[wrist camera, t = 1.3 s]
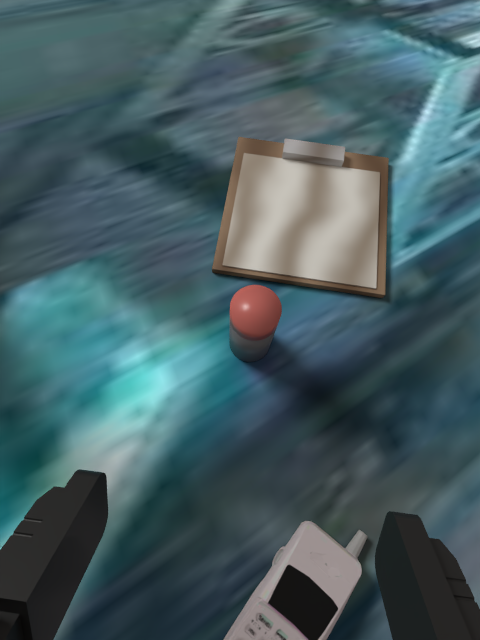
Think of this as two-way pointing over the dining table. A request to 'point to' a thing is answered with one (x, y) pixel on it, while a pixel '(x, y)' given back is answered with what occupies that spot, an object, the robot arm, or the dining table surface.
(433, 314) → the dining table surface
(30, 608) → the robot arm
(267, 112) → the dining table surface
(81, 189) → the dining table surface
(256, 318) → the grey and red cylinder
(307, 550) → the mobile phone
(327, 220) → the clipboard
